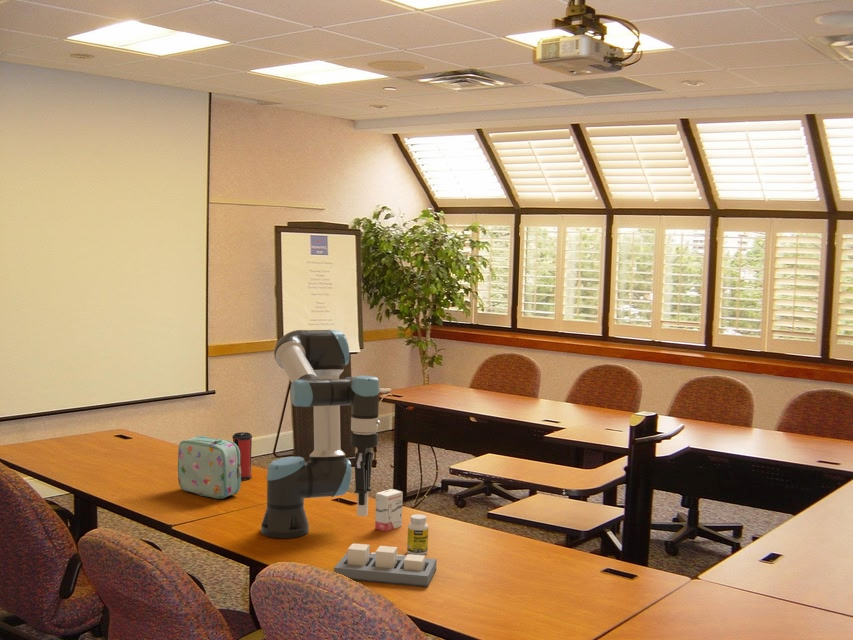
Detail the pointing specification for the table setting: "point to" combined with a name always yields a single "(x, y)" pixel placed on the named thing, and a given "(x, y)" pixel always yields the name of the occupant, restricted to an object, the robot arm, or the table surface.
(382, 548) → the button middle
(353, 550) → the button left
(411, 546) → the pill bottle
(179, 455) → the lunch box
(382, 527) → the ink box
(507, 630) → the table surface
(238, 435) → the red travel mug
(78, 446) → the table surface
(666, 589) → the table surface
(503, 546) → the table surface
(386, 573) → the board
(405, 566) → the button right
